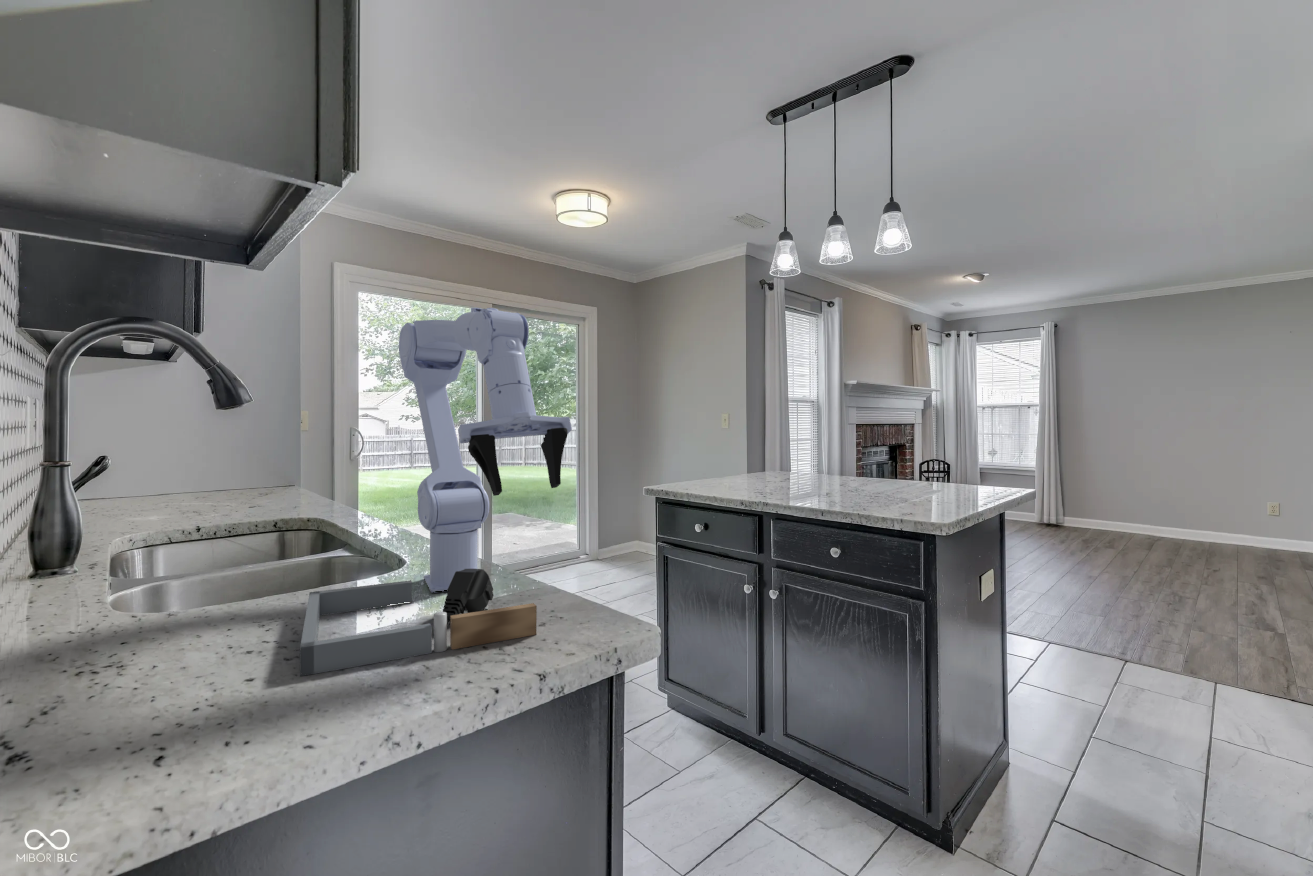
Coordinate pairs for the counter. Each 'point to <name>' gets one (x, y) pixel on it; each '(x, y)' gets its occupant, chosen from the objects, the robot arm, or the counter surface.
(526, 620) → the gate
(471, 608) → the power plug
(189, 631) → the counter surface
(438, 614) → the grey rectangular frame
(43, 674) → the counter surface
